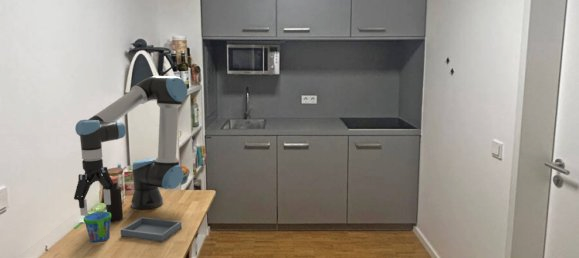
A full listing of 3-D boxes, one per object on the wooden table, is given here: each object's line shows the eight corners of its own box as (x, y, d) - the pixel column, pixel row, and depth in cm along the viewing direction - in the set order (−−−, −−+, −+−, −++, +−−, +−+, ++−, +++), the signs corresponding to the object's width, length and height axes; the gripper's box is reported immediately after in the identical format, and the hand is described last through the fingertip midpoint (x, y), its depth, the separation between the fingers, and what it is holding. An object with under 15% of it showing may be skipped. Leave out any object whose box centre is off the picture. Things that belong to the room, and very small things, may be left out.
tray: (142, 223, 204) (142, 217, 203) (181, 228, 198) (181, 221, 197) (121, 236, 189) (120, 229, 189) (162, 242, 184) (162, 235, 183)
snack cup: (85, 234, 192) (82, 211, 190) (111, 230, 197) (109, 207, 195) (86, 249, 178) (84, 224, 176) (114, 243, 183) (112, 219, 181)
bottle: (113, 216, 212) (109, 175, 209) (126, 217, 211) (122, 176, 208) (104, 221, 206) (100, 179, 202) (117, 222, 205) (114, 180, 201)
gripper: (105, 152, 194) (109, 199, 198) (60, 165, 171) (65, 219, 174) (120, 153, 192) (123, 201, 195) (76, 167, 168) (81, 221, 172)
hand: (96, 209), depth 185 cm, fingers open, 13 cm apart
